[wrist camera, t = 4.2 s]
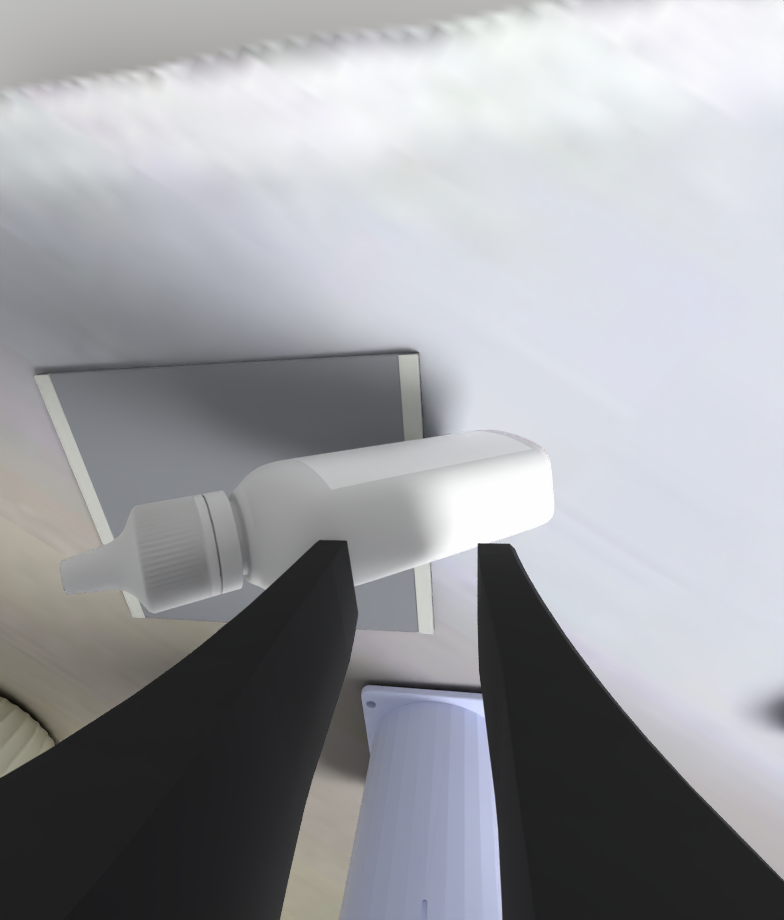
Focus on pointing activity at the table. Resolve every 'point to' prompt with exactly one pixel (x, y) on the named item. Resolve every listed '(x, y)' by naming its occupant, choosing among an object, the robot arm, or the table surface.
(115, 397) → the mat
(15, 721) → the canister
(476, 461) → the eye dropper bottle
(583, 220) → the table surface
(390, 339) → the table surface
